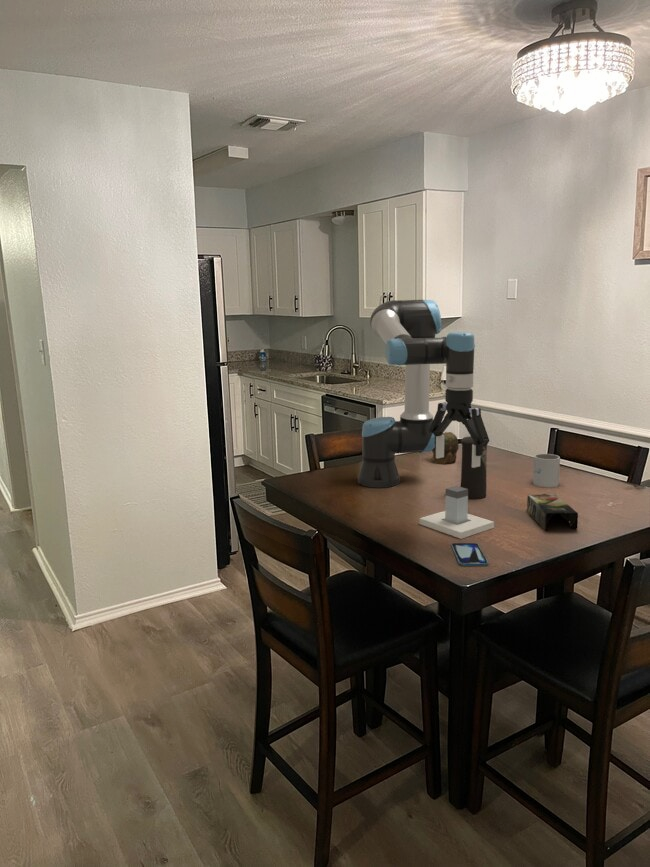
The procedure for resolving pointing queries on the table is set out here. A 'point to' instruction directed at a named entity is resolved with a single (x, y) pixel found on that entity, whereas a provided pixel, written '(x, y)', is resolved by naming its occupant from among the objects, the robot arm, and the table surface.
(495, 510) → the table surface
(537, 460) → the mug
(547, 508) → the juice carton
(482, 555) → the smartphone
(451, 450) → the brown rounded lump
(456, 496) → the plug
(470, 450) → the container
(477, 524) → the socket
